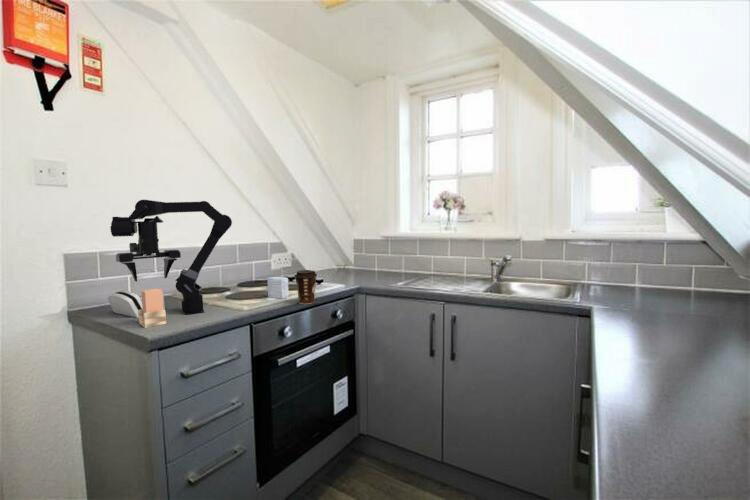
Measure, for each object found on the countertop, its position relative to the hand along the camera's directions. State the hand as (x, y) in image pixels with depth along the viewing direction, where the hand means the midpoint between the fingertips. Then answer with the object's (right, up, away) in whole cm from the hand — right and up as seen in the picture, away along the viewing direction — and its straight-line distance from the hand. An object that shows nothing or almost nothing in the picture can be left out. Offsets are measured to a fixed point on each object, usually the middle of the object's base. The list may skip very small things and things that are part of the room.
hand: (151, 279), depth 127 cm
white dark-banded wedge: (-10, -13, +4) cm, 17 cm away
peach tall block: (+6, -13, -9) cm, 17 cm away
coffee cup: (+52, -11, +18) cm, 56 cm away
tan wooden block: (+6, -14, -9) cm, 17 cm away
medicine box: (+37, -10, +29) cm, 48 cm away
